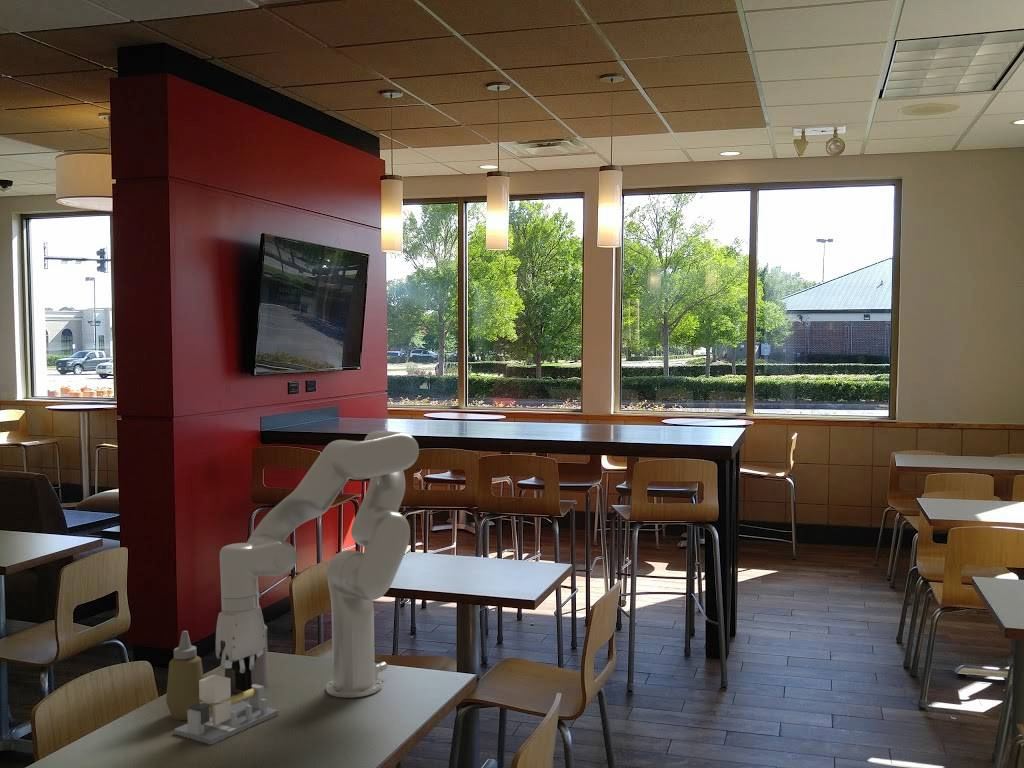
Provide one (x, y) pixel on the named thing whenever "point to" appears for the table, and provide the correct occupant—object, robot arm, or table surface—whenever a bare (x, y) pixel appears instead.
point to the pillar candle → (253, 670)
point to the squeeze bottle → (183, 678)
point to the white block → (216, 697)
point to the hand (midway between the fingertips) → (243, 688)
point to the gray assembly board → (240, 719)
